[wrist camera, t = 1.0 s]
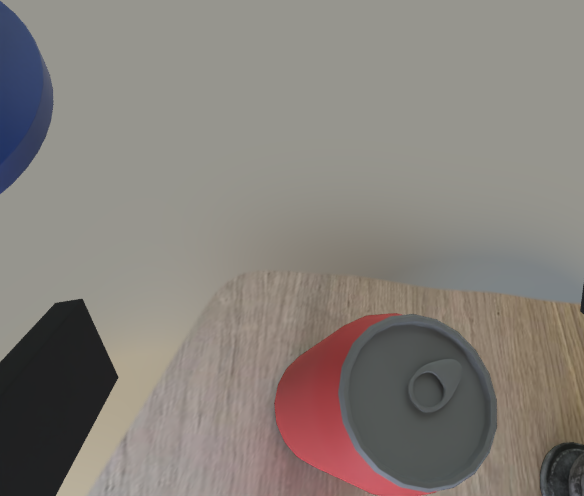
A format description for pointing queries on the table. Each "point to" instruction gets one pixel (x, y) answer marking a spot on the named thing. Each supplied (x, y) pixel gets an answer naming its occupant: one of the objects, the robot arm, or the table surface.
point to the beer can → (390, 406)
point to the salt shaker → (563, 471)
